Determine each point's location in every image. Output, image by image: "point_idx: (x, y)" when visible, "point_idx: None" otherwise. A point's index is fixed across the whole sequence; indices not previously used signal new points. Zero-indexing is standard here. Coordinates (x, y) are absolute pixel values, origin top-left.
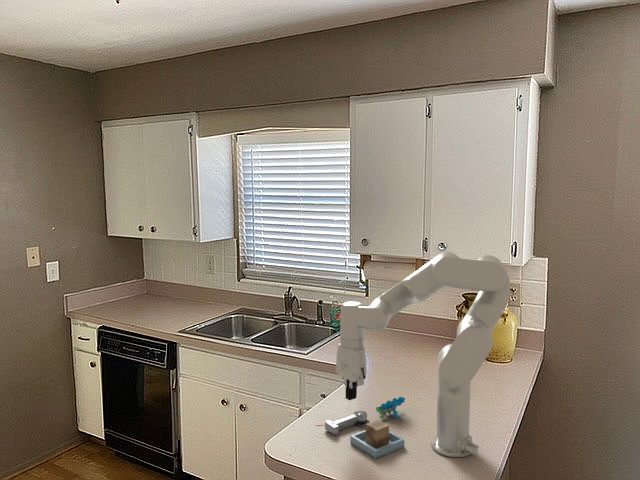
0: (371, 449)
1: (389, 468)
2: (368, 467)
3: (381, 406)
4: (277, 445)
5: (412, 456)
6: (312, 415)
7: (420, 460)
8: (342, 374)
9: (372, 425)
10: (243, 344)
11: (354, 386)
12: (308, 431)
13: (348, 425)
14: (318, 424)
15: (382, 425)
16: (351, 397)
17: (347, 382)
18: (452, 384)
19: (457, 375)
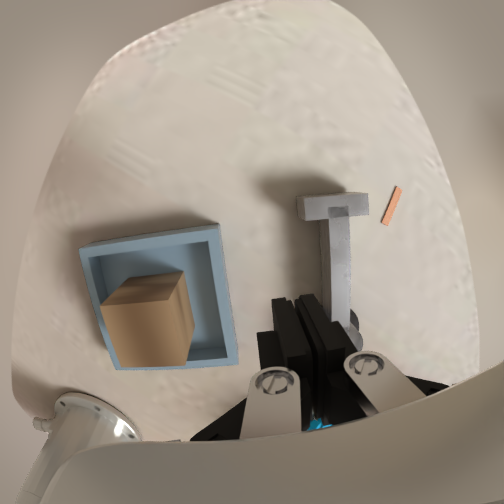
0: (96, 245)
1: (46, 250)
2: (67, 197)
3: (316, 421)
4: (335, 17)
5: (77, 340)
6: (448, 217)
7: (58, 342)
8: (450, 425)
9: (142, 316)
10: None
11: (226, 414)
12: (375, 138)
13: (323, 280)
14: (397, 196)
15: (128, 348)
16: (275, 331)
17: (355, 394)
18: None
19: None
